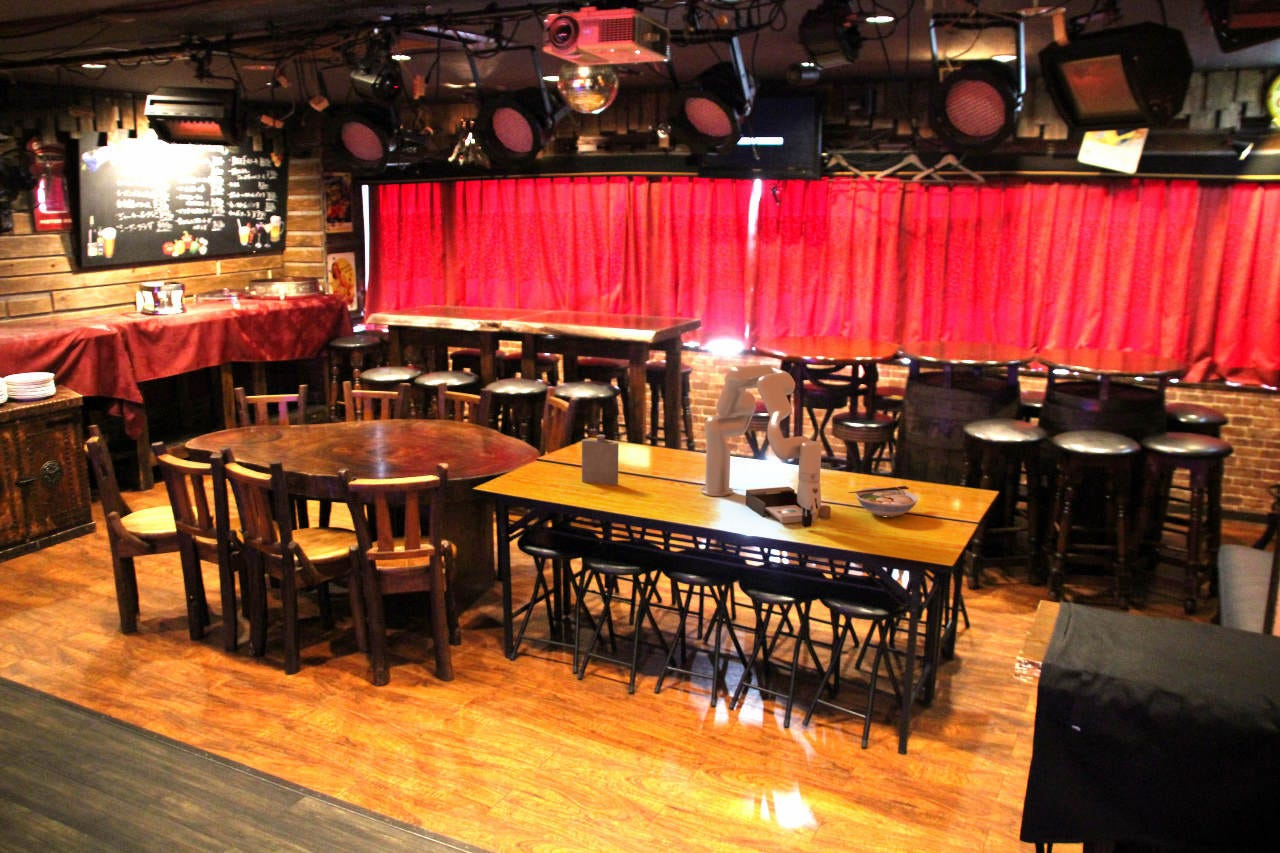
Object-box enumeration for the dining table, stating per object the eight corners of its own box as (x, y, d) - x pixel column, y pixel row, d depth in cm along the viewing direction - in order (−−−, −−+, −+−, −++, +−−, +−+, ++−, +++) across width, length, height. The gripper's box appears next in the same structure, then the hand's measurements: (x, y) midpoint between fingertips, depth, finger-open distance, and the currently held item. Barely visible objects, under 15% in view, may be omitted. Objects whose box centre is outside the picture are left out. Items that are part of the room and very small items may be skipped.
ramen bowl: (870, 526, 377) (871, 504, 375) (841, 508, 398) (842, 487, 396) (931, 521, 384) (933, 500, 382) (899, 503, 405) (901, 483, 403)
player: (745, 505, 400) (746, 489, 399) (788, 501, 406) (788, 486, 404) (762, 517, 385) (763, 501, 384) (806, 513, 391) (807, 497, 390)
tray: (763, 510, 390) (763, 504, 389) (797, 507, 394) (797, 501, 393) (781, 523, 375) (781, 516, 375) (816, 520, 379) (816, 513, 379)
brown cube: (816, 516, 388) (816, 505, 387) (826, 515, 389) (827, 504, 388) (821, 519, 384) (822, 509, 383) (832, 518, 385) (832, 508, 384)
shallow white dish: (778, 513, 385) (778, 508, 385) (795, 511, 387) (795, 507, 387) (786, 518, 379) (786, 514, 378) (803, 517, 381) (804, 512, 380)
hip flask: (580, 481, 429) (580, 434, 425) (584, 479, 433) (584, 432, 429) (616, 486, 424) (616, 438, 419) (620, 483, 427) (620, 436, 423)
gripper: (828, 481, 362) (826, 531, 366) (809, 470, 376) (806, 519, 380) (809, 482, 360) (806, 533, 364) (790, 471, 373) (787, 520, 377)
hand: (806, 526), depth 372 cm, fingers closed
